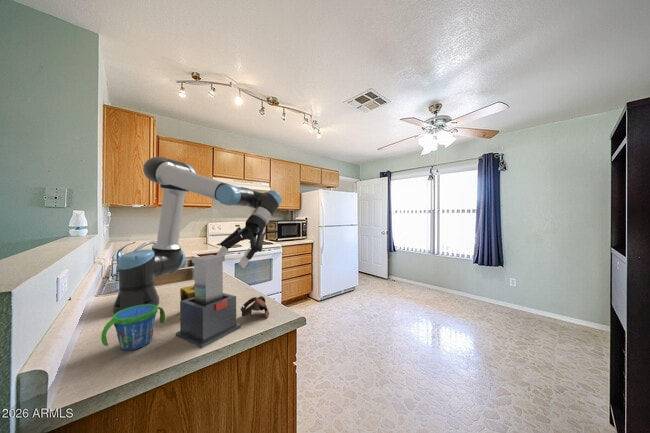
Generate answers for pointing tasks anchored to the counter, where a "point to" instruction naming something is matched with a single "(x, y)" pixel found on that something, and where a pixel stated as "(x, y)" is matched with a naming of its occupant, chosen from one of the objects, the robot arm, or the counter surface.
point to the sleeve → (207, 320)
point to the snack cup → (134, 326)
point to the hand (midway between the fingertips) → (227, 264)
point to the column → (208, 279)
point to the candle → (187, 292)
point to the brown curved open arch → (255, 306)
